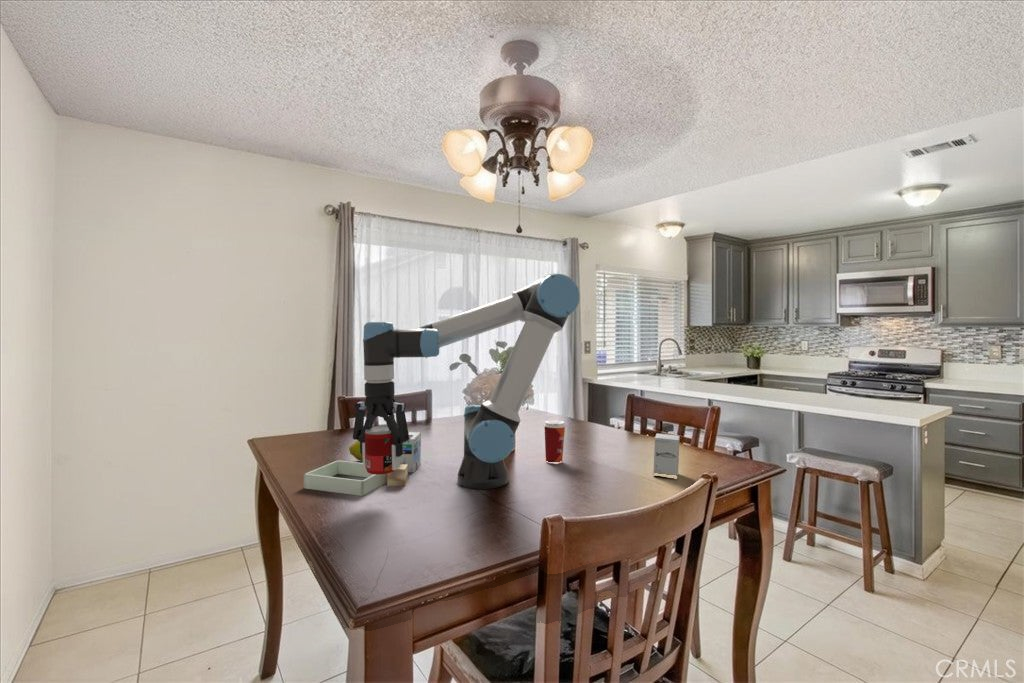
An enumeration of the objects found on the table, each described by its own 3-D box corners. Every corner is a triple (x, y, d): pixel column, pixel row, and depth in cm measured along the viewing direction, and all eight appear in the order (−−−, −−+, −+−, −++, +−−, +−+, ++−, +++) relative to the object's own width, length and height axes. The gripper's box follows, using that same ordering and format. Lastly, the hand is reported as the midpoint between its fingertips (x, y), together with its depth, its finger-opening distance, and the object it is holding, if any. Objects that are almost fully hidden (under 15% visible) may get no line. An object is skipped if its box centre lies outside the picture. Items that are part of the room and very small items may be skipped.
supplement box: (652, 477, 152) (653, 437, 152) (655, 470, 159) (656, 432, 158) (677, 480, 149) (678, 439, 149) (678, 473, 156) (679, 434, 156)
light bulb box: (414, 473, 153) (414, 439, 152) (392, 472, 153) (393, 438, 152) (421, 463, 163) (421, 431, 163) (401, 463, 163) (401, 431, 163)
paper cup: (566, 465, 163) (567, 424, 163) (543, 464, 164) (544, 423, 163) (564, 459, 171) (564, 419, 171) (542, 458, 171) (543, 419, 171)
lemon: (381, 457, 170) (381, 434, 170) (383, 463, 163) (383, 439, 163) (348, 459, 166) (348, 436, 166) (349, 465, 159) (349, 441, 159)
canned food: (389, 475, 122) (388, 432, 122) (360, 474, 124) (359, 431, 123) (401, 466, 130) (401, 426, 129) (374, 465, 131) (373, 425, 131)
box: (392, 479, 146) (392, 466, 145) (362, 496, 131) (362, 481, 131) (337, 473, 151) (337, 460, 151) (303, 488, 136) (303, 474, 136)
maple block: (407, 480, 145) (407, 464, 145) (404, 486, 140) (404, 469, 140) (390, 481, 144) (390, 464, 144) (387, 486, 139) (387, 469, 139)
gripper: (422, 380, 127) (424, 466, 127) (353, 378, 133) (355, 460, 133) (408, 383, 119) (410, 474, 120) (336, 381, 125) (338, 468, 126)
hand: (381, 467), depth 127 cm, fingers closed on canned food, 8 cm apart
